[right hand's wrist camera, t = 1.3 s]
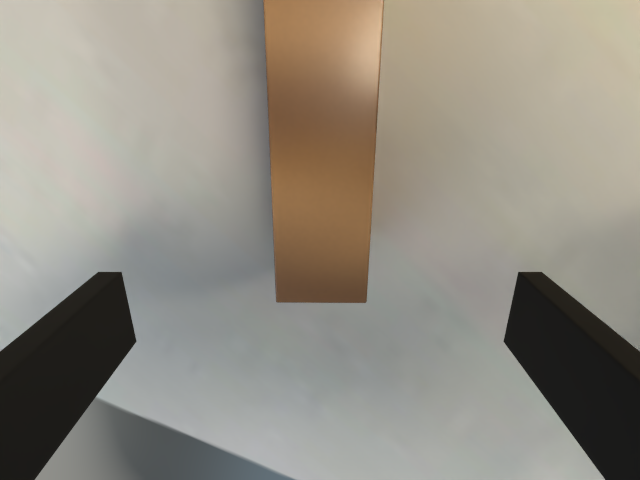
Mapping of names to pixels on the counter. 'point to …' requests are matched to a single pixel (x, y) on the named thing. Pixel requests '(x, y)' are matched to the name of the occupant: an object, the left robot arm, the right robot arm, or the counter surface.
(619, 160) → the counter surface
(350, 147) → the beam
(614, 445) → the right robot arm
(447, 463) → the counter surface
